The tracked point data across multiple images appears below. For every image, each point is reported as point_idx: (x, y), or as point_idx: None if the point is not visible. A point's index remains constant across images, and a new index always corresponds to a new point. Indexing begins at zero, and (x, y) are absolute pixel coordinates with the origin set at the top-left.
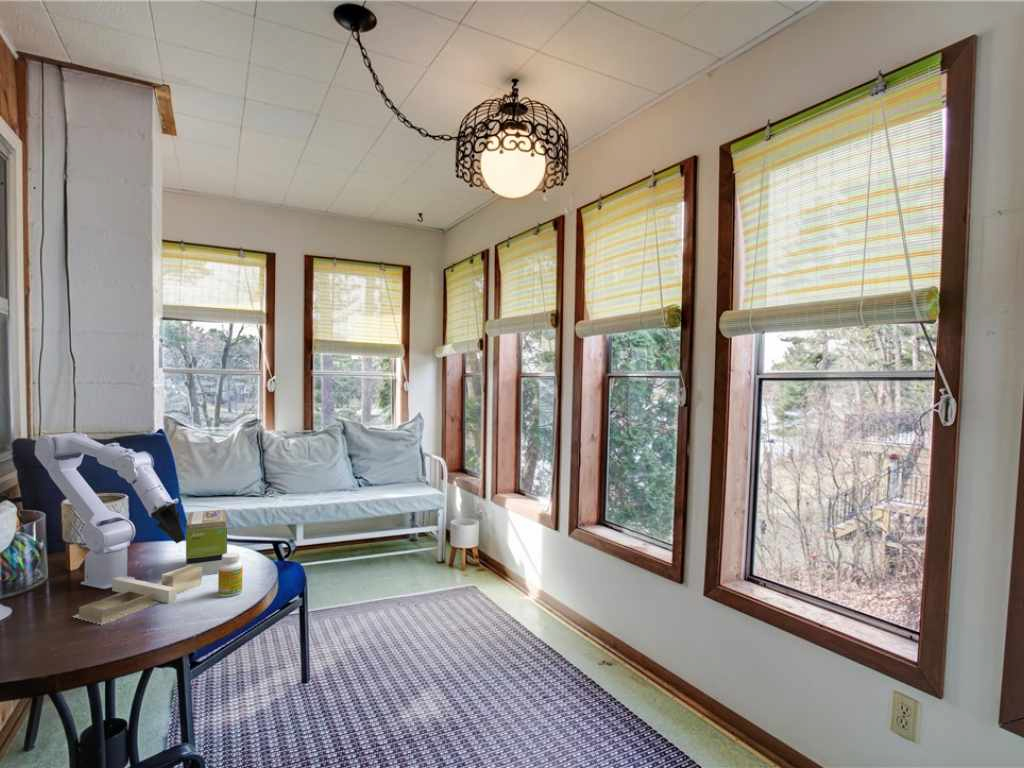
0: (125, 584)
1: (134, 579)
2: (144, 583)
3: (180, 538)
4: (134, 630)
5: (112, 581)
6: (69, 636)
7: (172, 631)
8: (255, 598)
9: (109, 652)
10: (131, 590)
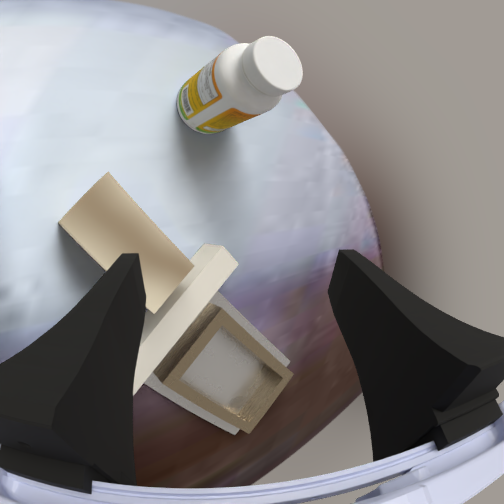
0: None
1: None
2: (146, 358)
3: (138, 281)
4: (325, 292)
5: None
6: (308, 387)
7: (346, 227)
8: None
9: None
10: (171, 377)
